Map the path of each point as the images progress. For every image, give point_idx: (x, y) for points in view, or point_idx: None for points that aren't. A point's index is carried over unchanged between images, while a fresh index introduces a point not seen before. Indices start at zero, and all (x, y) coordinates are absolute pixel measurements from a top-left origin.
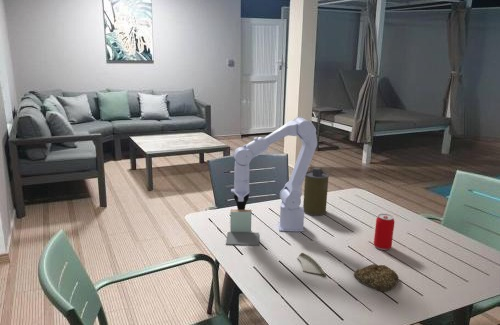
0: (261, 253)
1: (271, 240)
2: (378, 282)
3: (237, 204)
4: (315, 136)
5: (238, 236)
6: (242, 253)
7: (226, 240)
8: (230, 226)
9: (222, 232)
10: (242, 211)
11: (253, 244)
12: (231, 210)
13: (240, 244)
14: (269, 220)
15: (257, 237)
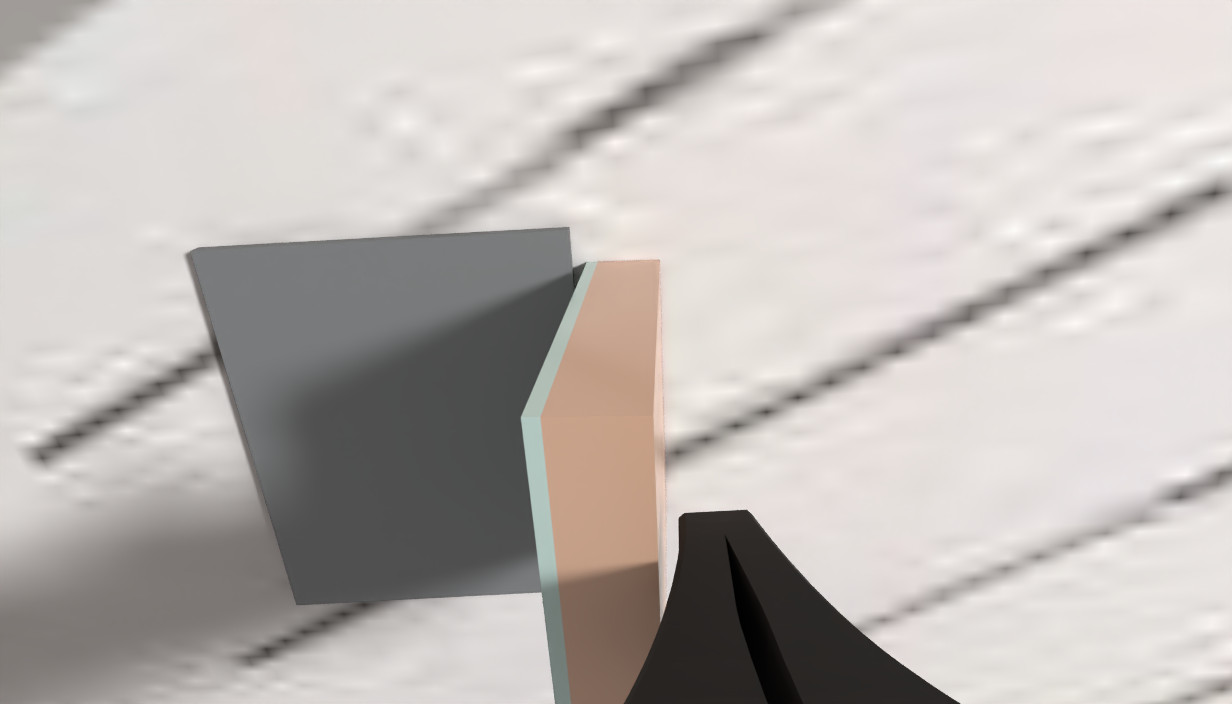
0: (140, 622)
1: (453, 689)
2: None
3: (650, 663)
4: None
5: (448, 385)
6: (58, 456)
7: (290, 246)
8: (575, 291)
9: (572, 147)
10: (575, 644)
11: (282, 555)
12: (594, 434)
13: (247, 424)
14: (959, 661)
15: (466, 583)
